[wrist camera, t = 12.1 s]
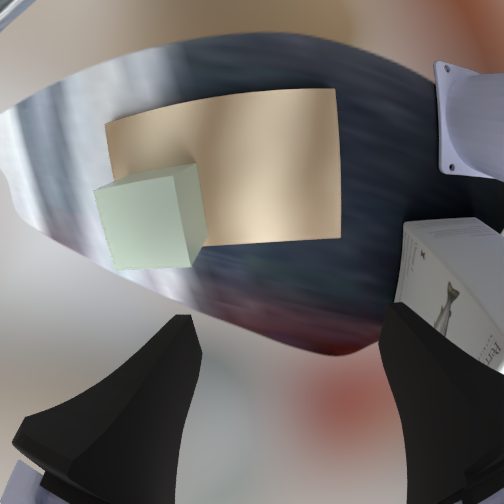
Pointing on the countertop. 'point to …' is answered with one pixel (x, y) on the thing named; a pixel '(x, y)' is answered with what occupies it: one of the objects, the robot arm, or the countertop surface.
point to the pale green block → (153, 218)
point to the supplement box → (457, 283)
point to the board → (246, 161)
